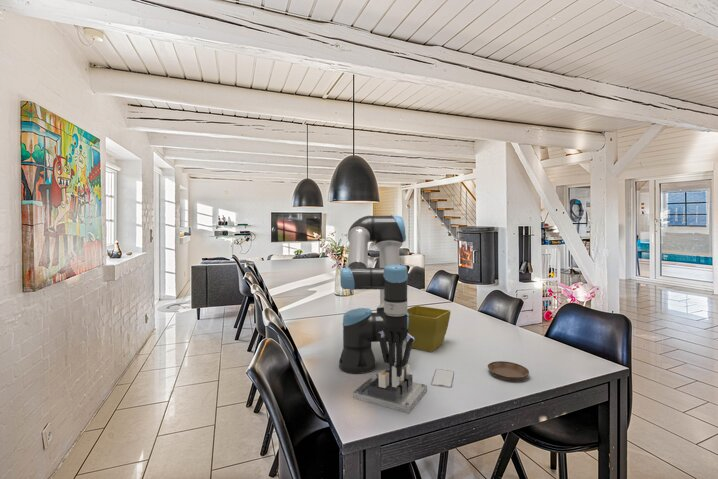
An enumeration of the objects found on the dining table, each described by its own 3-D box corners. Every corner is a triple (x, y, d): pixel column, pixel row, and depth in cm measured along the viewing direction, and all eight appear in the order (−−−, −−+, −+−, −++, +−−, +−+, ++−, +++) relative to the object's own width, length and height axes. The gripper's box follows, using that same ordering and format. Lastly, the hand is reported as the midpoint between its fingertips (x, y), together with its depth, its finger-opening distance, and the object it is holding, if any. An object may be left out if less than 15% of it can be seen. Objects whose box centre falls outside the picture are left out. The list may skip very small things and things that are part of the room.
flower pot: (415, 337, 185) (415, 304, 184) (451, 344, 174) (451, 309, 173) (397, 347, 170) (397, 312, 169) (435, 356, 159) (435, 318, 158)
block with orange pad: (378, 386, 118) (378, 374, 117) (382, 383, 120) (382, 370, 120) (385, 388, 116) (385, 375, 116) (389, 384, 119) (389, 372, 119)
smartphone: (454, 371, 142) (451, 387, 128) (454, 372, 142) (451, 389, 128) (435, 368, 144) (430, 384, 130) (435, 370, 144) (430, 386, 130)
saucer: (538, 380, 134) (538, 373, 134) (504, 386, 130) (504, 378, 129) (510, 365, 148) (510, 359, 148) (479, 370, 144) (479, 363, 144)
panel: (353, 398, 121) (353, 371, 120) (375, 378, 136) (375, 355, 135) (409, 413, 111) (409, 384, 111) (426, 390, 126) (427, 365, 125)
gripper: (372, 313, 115) (372, 385, 116) (410, 318, 109) (410, 394, 110) (382, 308, 122) (382, 376, 123) (418, 313, 115) (418, 385, 117)
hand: (395, 385), depth 116 cm, fingers closed
